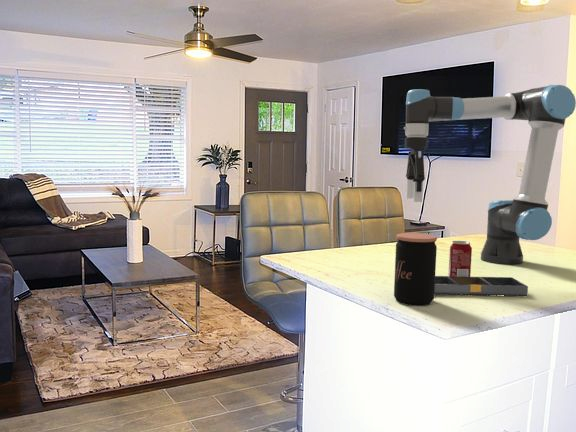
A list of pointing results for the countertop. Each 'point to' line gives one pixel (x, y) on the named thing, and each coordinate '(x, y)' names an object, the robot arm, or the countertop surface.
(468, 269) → the soda can
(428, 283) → the coffee jar
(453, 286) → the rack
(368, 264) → the countertop surface
